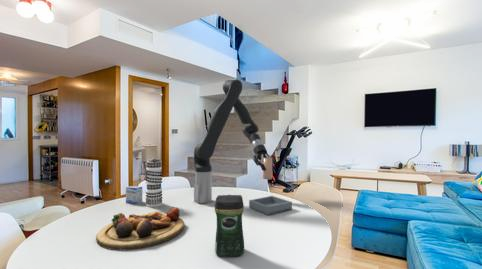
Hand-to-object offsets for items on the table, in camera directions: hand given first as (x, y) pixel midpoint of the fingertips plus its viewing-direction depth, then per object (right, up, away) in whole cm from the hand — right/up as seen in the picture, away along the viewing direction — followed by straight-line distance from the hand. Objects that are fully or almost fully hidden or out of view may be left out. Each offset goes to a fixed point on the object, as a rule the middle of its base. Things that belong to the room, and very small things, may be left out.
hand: (268, 169), depth 141 cm
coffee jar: (-20, -18, -61) cm, 67 cm away
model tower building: (-64, -18, -7) cm, 67 cm away
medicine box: (-77, -18, -3) cm, 79 cm away
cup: (-1, -5, +1) cm, 5 cm away
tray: (-1, -18, -15) cm, 24 cm away
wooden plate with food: (-55, -19, -44) cm, 73 cm away
